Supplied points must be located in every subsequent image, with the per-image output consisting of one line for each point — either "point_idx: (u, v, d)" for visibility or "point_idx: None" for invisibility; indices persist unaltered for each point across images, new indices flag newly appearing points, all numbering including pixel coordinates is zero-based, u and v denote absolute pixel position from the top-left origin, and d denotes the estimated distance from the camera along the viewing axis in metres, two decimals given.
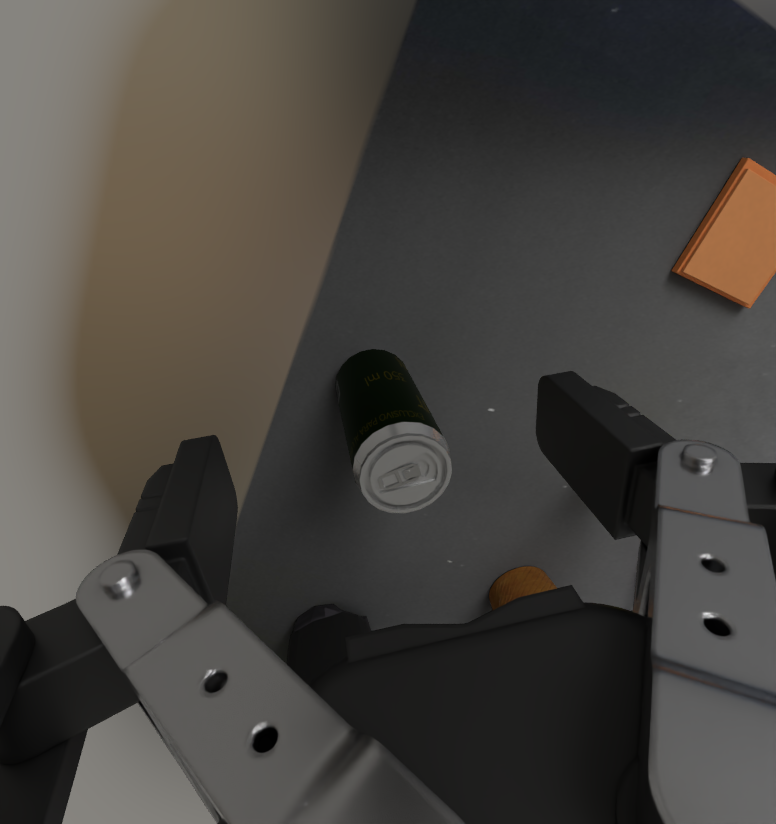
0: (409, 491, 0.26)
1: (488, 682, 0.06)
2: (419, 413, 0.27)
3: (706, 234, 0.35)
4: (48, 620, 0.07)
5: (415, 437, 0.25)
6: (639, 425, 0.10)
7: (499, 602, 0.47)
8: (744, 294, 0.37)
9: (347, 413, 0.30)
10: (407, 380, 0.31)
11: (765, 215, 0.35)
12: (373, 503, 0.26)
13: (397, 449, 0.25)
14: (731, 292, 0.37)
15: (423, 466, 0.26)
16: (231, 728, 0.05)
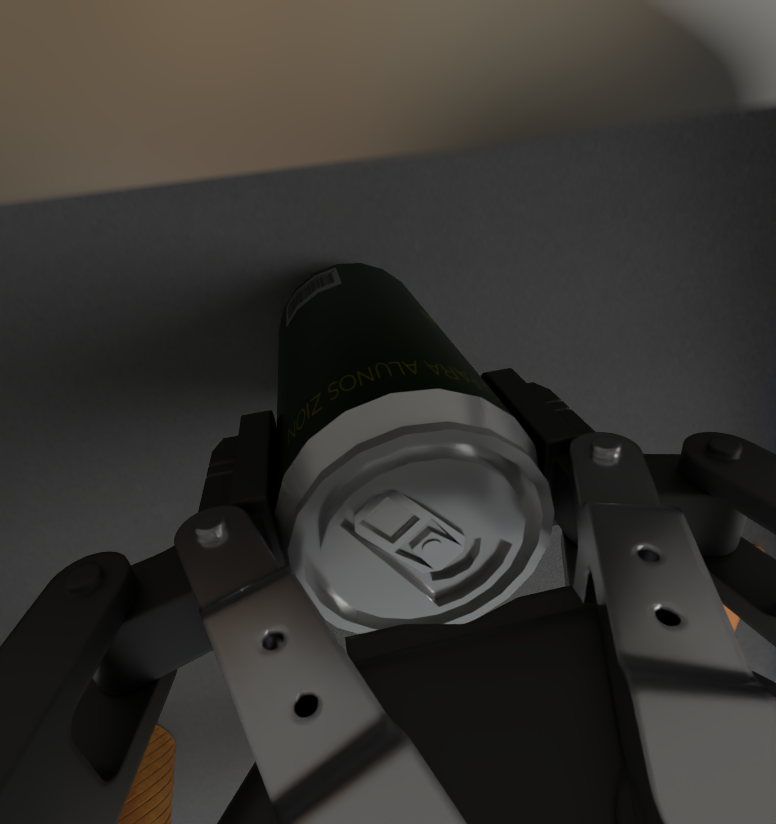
0: (381, 579, 0.09)
1: (488, 682, 0.06)
2: None
3: None
4: (146, 567, 0.08)
5: (547, 500, 0.09)
6: (560, 419, 0.10)
7: None
8: None
9: (365, 314, 0.12)
10: None
11: None
12: (299, 528, 0.08)
13: (498, 482, 0.09)
14: None
15: (455, 558, 0.10)
16: (278, 687, 0.05)
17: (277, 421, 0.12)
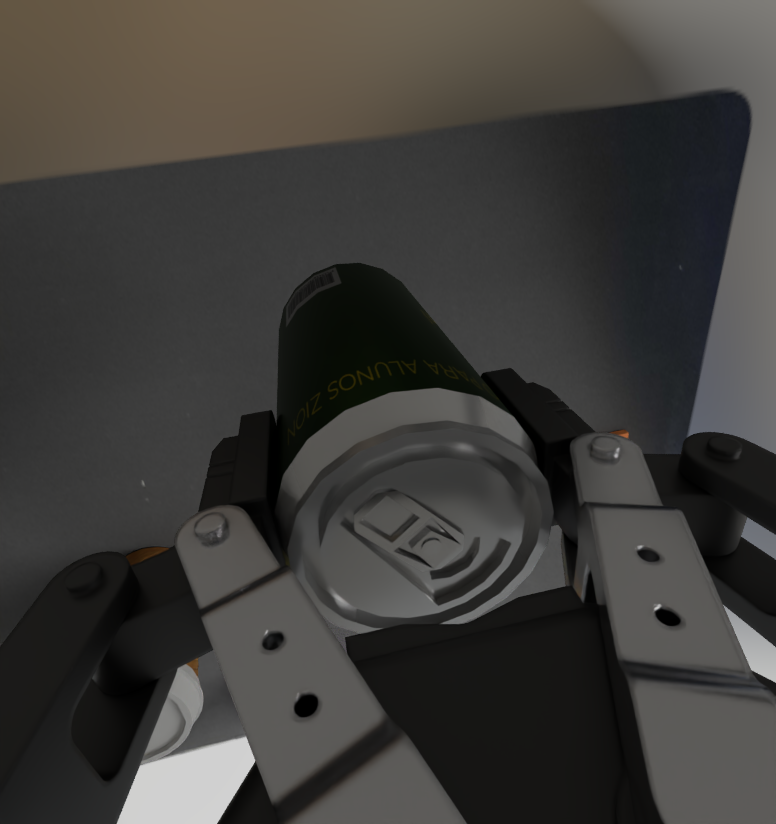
0: (380, 578, 0.09)
1: (488, 682, 0.06)
2: None
3: None
4: (146, 567, 0.08)
5: (546, 499, 0.09)
6: (560, 419, 0.10)
7: None
8: None
9: (365, 314, 0.12)
10: None
11: None
12: (299, 527, 0.08)
13: (498, 482, 0.09)
14: None
15: (454, 557, 0.10)
16: (278, 687, 0.05)
17: (277, 420, 0.12)
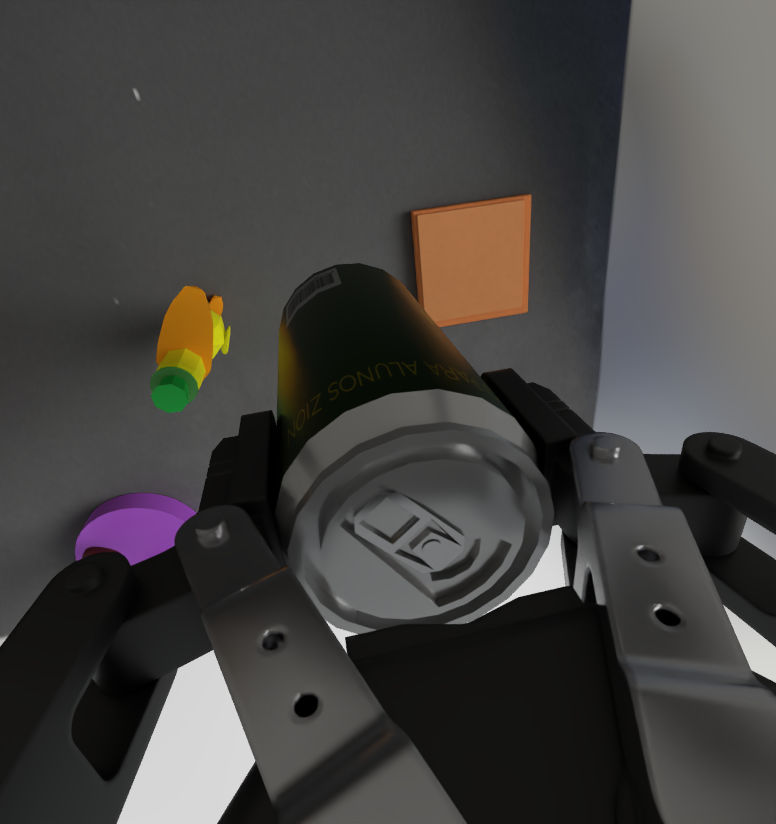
0: (381, 580, 0.09)
1: (488, 682, 0.06)
2: None
3: (458, 209, 0.32)
4: (145, 568, 0.08)
5: (547, 500, 0.09)
6: (560, 418, 0.10)
7: None
8: (430, 307, 0.34)
9: (365, 314, 0.12)
10: None
11: (498, 258, 0.34)
12: (299, 528, 0.08)
13: (498, 483, 0.09)
14: (425, 291, 0.34)
15: (455, 559, 0.10)
16: (278, 687, 0.05)
17: (277, 421, 0.12)
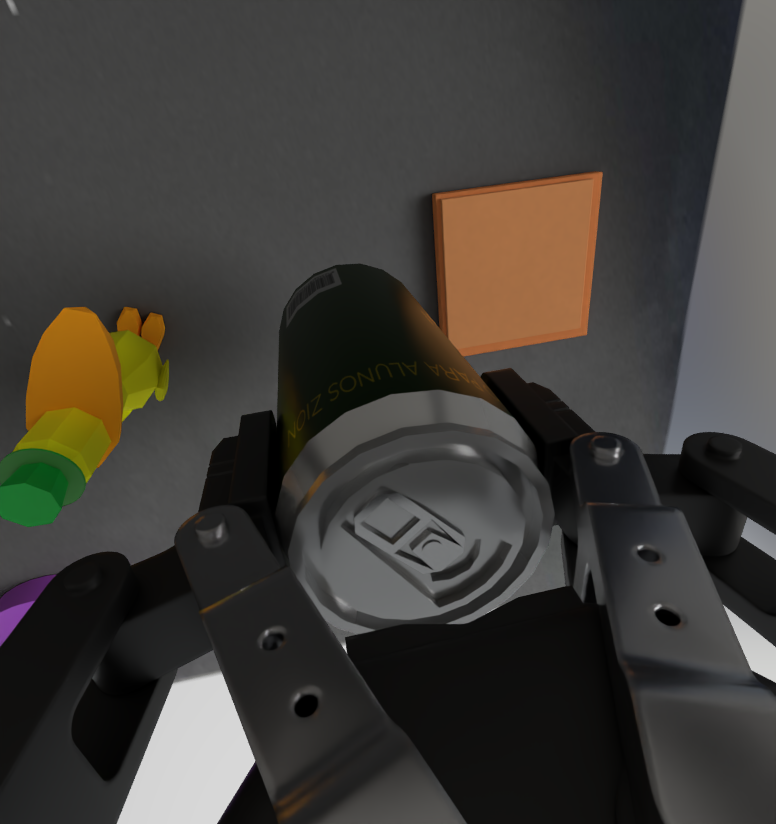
0: (382, 580, 0.09)
1: (488, 682, 0.06)
2: None
3: (500, 191, 0.22)
4: (146, 567, 0.08)
5: (547, 501, 0.09)
6: (560, 419, 0.10)
7: None
8: (456, 329, 0.25)
9: (365, 315, 0.12)
10: None
11: (553, 262, 0.24)
12: (299, 529, 0.08)
13: (499, 484, 0.09)
14: (450, 307, 0.24)
15: (455, 559, 0.10)
16: (278, 687, 0.05)
17: (277, 422, 0.12)
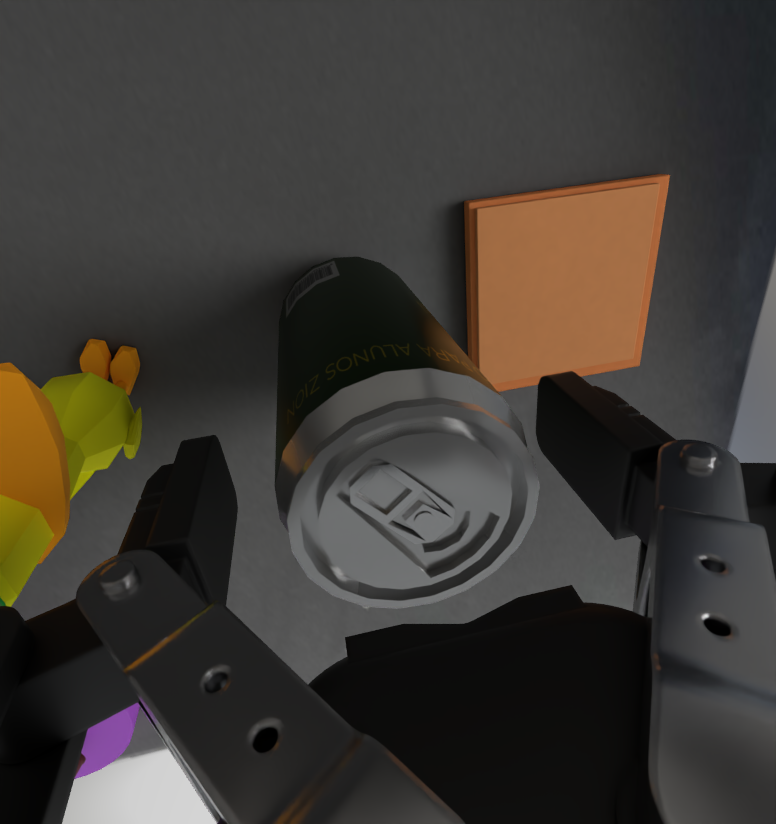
0: (375, 549, 0.10)
1: (488, 682, 0.06)
2: None
3: (548, 198, 0.18)
4: (48, 620, 0.07)
5: (532, 474, 0.09)
6: (639, 425, 0.10)
7: None
8: (489, 362, 0.21)
9: (362, 303, 0.13)
10: None
11: (606, 283, 0.20)
12: (298, 497, 0.09)
13: (486, 456, 0.09)
14: (483, 337, 0.20)
15: (446, 531, 0.10)
16: (231, 728, 0.05)
17: (277, 405, 0.13)
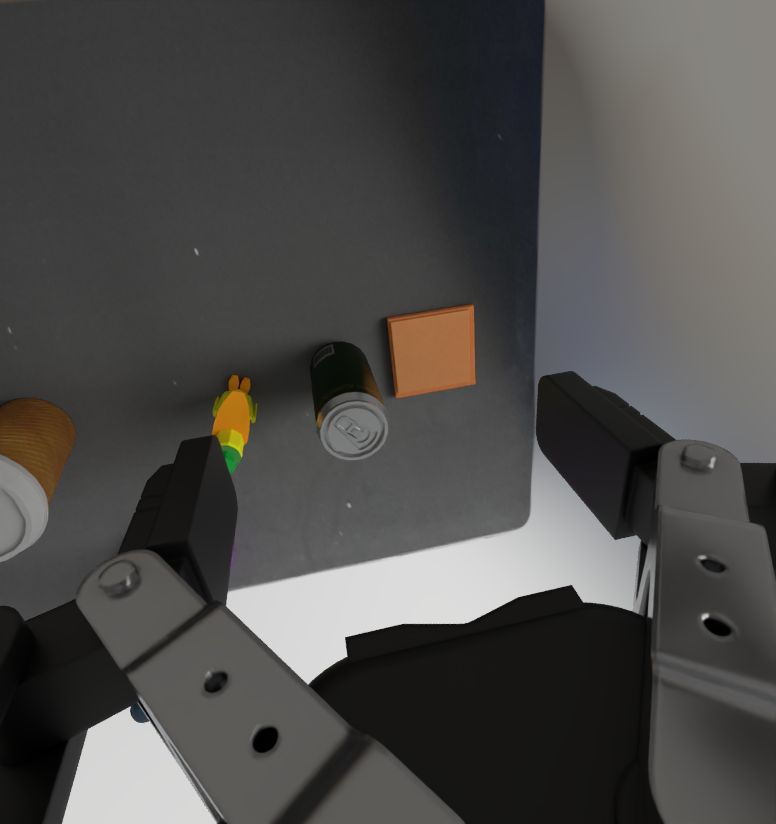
0: (343, 440, 0.36)
1: (488, 682, 0.06)
2: None
3: (420, 317, 0.44)
4: (47, 620, 0.07)
5: (385, 419, 0.35)
6: (639, 425, 0.10)
7: (5, 409, 0.40)
8: (402, 383, 0.47)
9: (341, 368, 0.39)
10: None
11: (451, 349, 0.46)
12: (323, 424, 0.35)
13: (371, 414, 0.35)
14: (398, 372, 0.46)
15: (363, 437, 0.36)
16: (231, 728, 0.05)
17: (314, 401, 0.39)
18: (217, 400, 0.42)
